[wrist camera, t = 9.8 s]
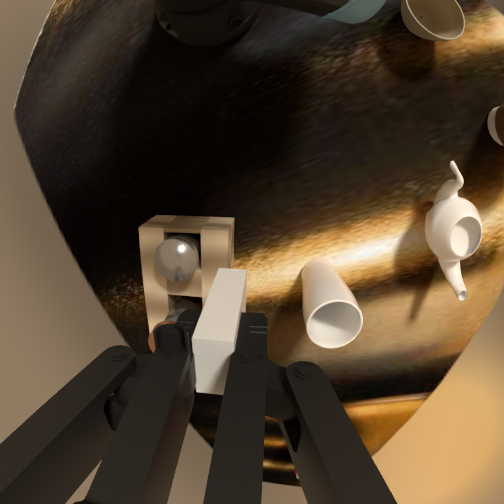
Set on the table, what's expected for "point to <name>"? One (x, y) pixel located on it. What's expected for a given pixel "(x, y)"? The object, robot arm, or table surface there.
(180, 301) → the copper knob
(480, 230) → the teapot
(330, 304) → the drinking glass
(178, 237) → the knob
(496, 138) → the coffee cup
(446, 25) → the white tapered round container
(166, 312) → the mount
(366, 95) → the table surface
